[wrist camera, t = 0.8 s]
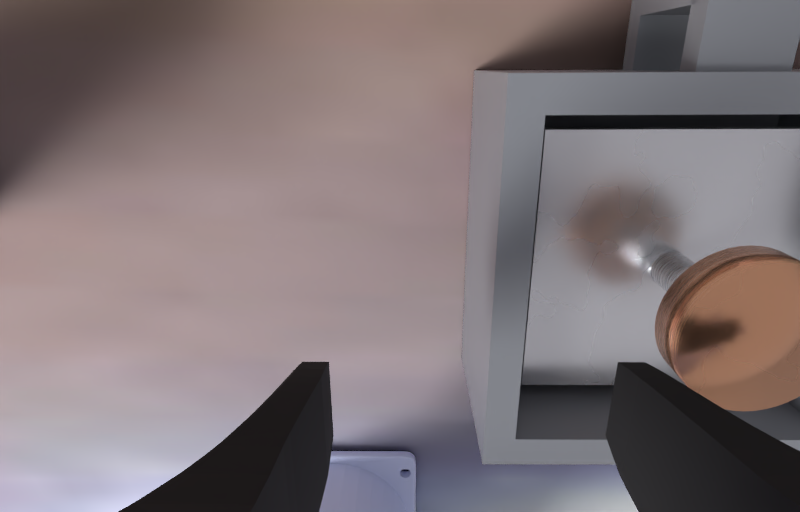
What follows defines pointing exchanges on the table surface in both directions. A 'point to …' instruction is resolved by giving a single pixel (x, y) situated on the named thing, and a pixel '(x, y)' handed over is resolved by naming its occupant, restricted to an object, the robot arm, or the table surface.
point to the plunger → (669, 260)
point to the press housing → (519, 183)
